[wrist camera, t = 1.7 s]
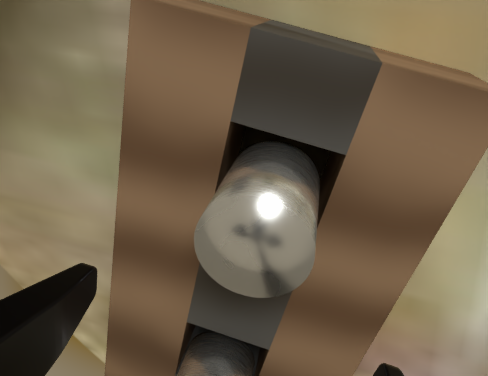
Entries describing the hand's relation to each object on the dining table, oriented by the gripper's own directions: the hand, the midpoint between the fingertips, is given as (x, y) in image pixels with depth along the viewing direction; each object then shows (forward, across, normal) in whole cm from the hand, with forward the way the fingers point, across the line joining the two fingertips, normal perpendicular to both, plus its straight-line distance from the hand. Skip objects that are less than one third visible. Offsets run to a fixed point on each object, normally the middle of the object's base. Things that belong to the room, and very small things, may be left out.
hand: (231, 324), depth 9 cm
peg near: (+8, 0, 0) cm, 8 cm away
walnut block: (+13, 0, +6) cm, 14 cm away
